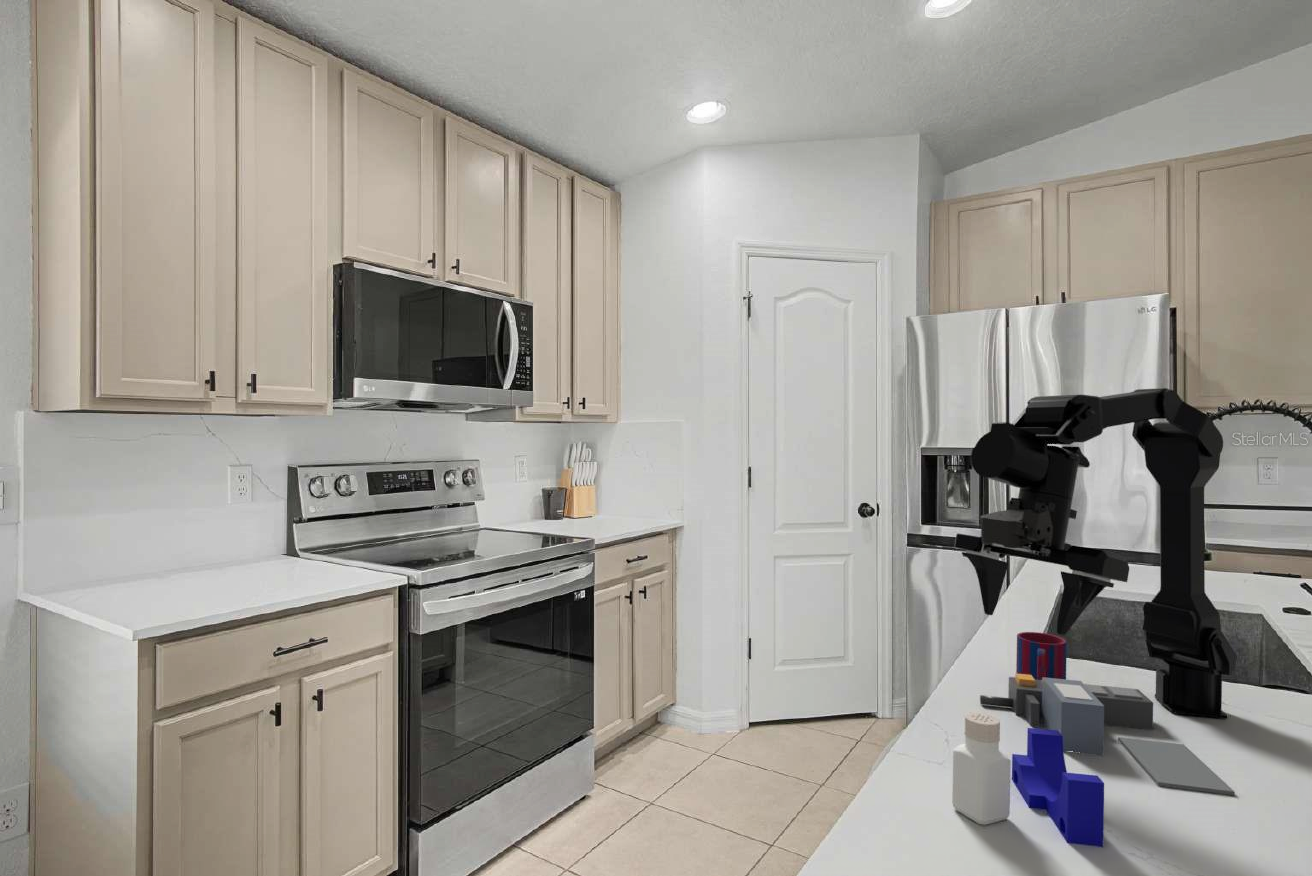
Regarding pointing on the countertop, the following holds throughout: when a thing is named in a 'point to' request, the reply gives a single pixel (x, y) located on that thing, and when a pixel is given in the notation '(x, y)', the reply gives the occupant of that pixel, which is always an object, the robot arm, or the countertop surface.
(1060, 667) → the mug
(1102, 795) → the cable clip
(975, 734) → the pepper shaker
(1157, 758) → the mat
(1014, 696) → the power strip
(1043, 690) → the block
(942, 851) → the countertop surface
